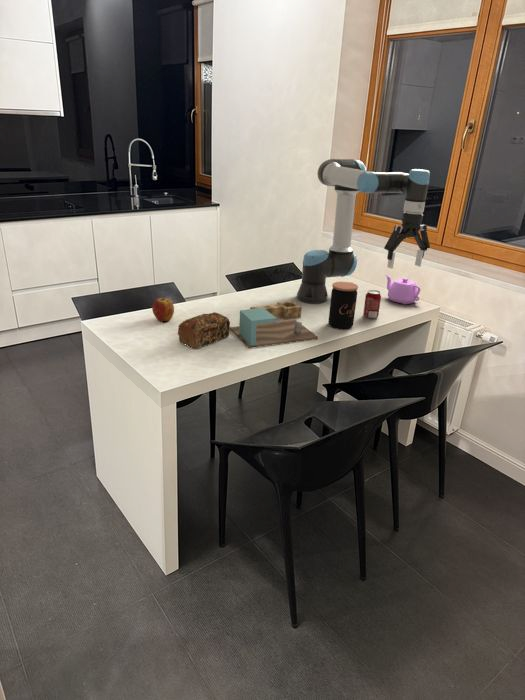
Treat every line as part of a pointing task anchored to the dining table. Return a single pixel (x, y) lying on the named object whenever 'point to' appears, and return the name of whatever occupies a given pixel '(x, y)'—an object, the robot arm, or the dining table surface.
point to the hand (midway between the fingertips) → (404, 266)
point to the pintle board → (278, 333)
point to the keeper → (253, 323)
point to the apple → (163, 309)
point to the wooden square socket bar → (283, 310)
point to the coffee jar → (342, 305)
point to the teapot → (402, 290)
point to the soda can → (372, 304)
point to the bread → (203, 330)
